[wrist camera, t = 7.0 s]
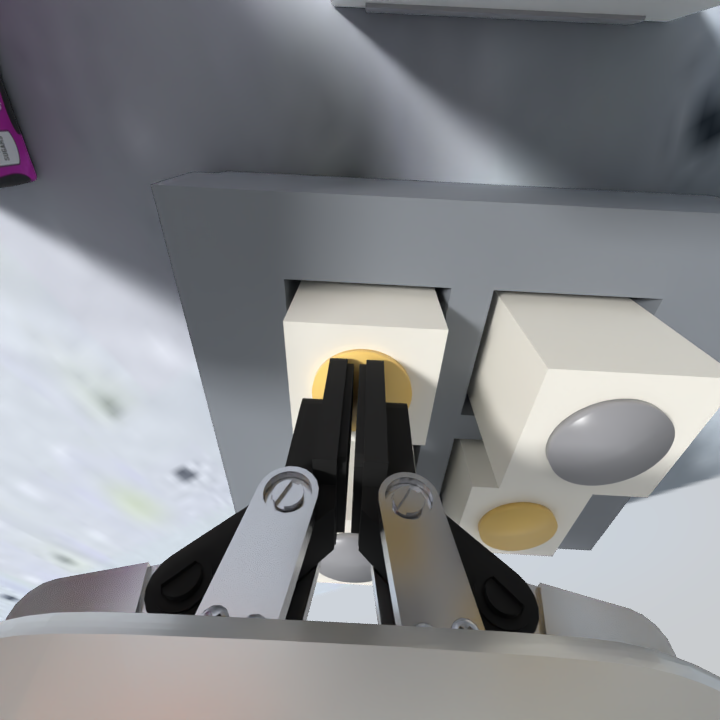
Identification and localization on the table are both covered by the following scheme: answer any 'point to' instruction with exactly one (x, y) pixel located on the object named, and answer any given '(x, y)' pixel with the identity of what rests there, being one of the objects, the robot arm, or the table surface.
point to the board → (413, 284)
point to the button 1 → (367, 343)
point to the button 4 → (586, 394)
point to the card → (542, 9)
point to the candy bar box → (12, 148)
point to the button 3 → (504, 506)
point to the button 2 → (347, 548)
